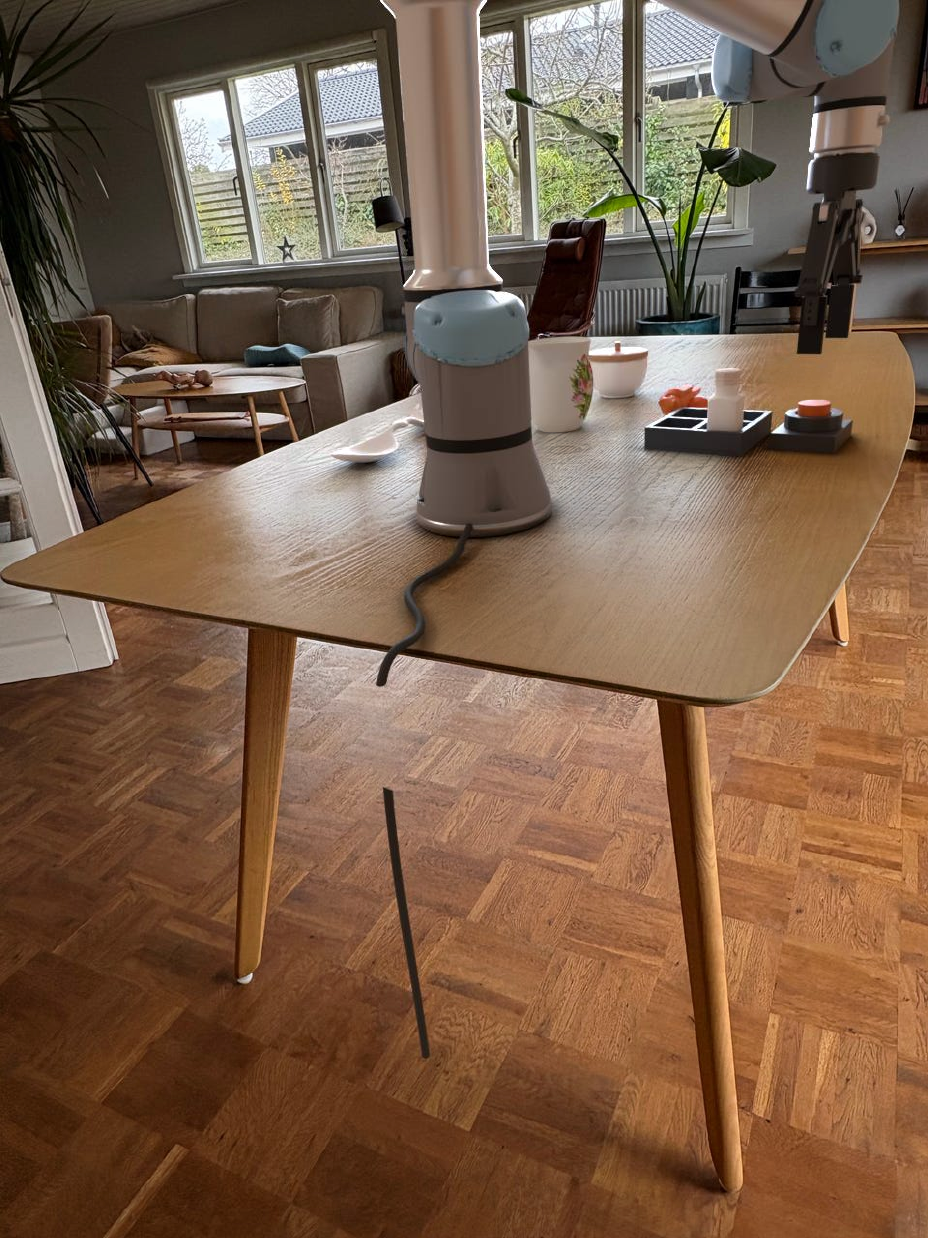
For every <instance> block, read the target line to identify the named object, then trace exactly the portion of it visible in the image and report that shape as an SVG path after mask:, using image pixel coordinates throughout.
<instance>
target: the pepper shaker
mask: <svg viewBox="0 0 928 1238" xmlns="http://www.w3.org/2000/svg"><path fill="white" fill-rule="evenodd" d="M741 372H742V370H741V368H738V367H737V368H736V367H730V368H729V367H727V368H726V367H725V368H718V369H716V370H715V372H714V373H715V375H714V377H715V378H714V393H713V394H712V395H710V396H709V398H707V400H708V413H707V430H718V431H734V432H738V431H740V430H741V429H742V428H743V415H744V410H745V398H746V397H745V395H744V394H742V393H740V385H741Z"/></svg>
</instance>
